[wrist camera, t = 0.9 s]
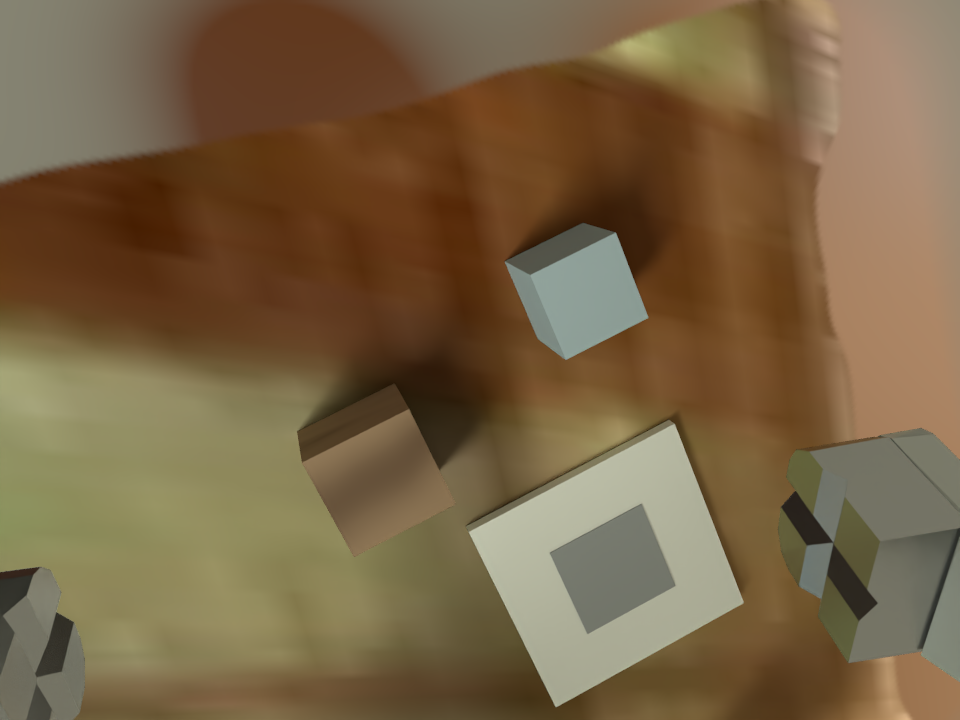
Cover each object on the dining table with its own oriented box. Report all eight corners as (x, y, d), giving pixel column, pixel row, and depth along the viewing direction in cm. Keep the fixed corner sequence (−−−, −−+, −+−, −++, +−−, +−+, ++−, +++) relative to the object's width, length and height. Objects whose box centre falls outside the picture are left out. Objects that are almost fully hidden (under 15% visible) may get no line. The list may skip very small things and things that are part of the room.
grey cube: (613, 300, 53) (648, 317, 48) (537, 338, 53) (565, 359, 48) (582, 222, 51) (616, 232, 47) (504, 261, 51) (530, 275, 46)
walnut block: (437, 470, 53) (455, 503, 48) (344, 518, 52) (354, 556, 48) (394, 382, 51) (409, 408, 46) (297, 430, 50) (302, 462, 46)
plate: (737, 596, 60) (744, 603, 59) (551, 700, 59) (556, 708, 58) (668, 419, 56) (675, 424, 55) (465, 526, 54) (469, 532, 53)
